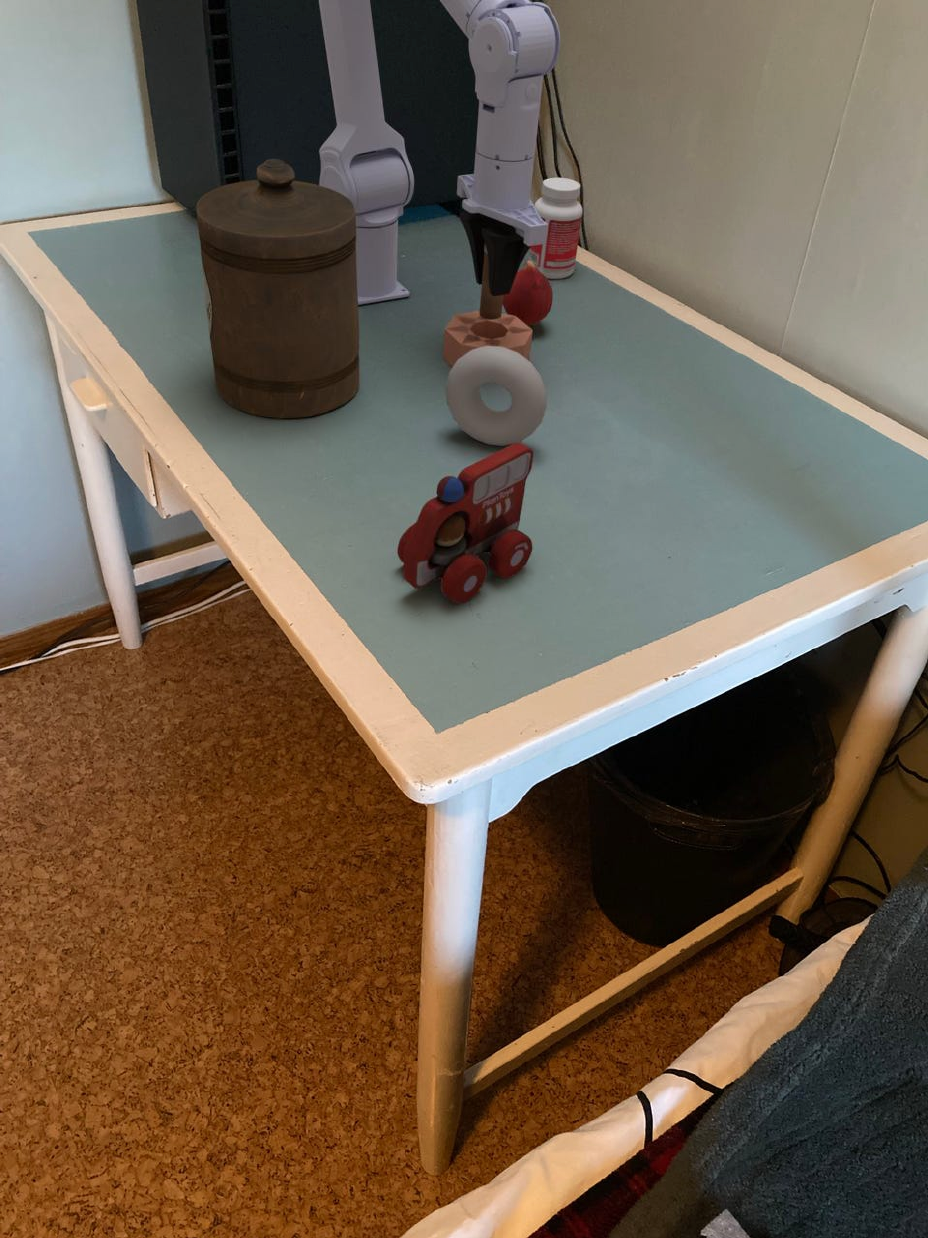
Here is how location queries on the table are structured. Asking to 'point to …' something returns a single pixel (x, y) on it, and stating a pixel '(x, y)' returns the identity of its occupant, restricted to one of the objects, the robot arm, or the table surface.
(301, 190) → the wooden container
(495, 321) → the orange octagonal ring
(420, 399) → the table surface
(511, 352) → the donut
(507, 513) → the toy fire truck
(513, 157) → the robot arm
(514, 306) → the onion
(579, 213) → the pill bottle
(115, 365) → the table surface
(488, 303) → the case
